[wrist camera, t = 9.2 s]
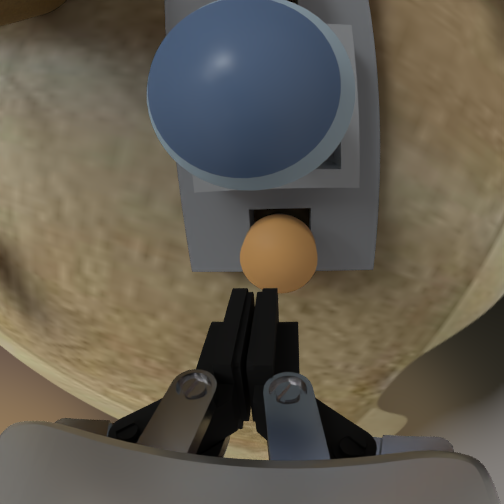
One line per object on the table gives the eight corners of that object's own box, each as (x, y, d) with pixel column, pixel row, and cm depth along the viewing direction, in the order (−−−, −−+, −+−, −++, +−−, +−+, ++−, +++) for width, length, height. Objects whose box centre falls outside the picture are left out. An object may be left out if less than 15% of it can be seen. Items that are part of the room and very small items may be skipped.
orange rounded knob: (247, 202, 21) (236, 224, 17) (312, 200, 20) (318, 222, 16) (252, 261, 23) (243, 293, 19) (312, 260, 22) (316, 293, 18)
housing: (176, -14, 16) (146, -42, 11) (354, -27, 14) (369, -60, 9) (201, 256, 25) (179, 292, 20) (366, 254, 23) (383, 291, 18)
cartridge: (229, 71, 17) (123, 5, 5) (312, 66, 16) (352, -23, 4) (235, 148, 19) (142, 207, 7) (317, 145, 18) (367, 199, 6)
